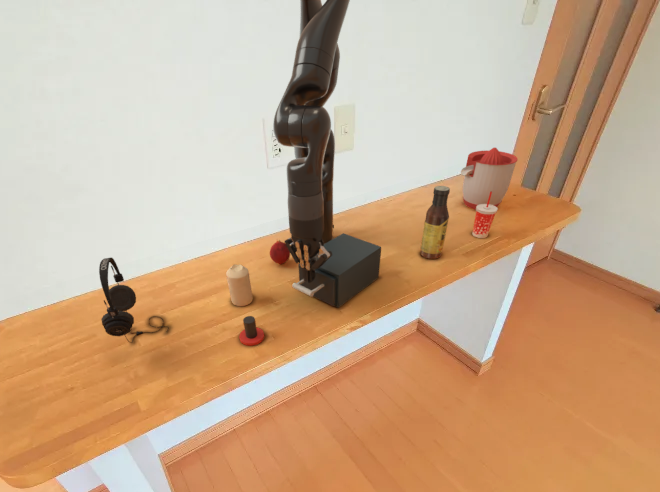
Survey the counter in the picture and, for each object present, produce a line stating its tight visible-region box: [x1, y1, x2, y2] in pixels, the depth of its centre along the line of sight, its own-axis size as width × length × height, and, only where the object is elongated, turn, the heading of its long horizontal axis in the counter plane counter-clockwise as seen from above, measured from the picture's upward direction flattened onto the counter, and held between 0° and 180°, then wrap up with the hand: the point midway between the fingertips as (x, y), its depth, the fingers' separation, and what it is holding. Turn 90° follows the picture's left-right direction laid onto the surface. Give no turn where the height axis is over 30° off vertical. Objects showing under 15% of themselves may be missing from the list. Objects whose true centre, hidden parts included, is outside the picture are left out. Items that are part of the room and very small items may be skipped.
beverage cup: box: [471, 191, 499, 239], centre depth 118 cm, size 6×6×14 cm
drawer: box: [291, 263, 337, 307], centre depth 98 cm, size 22×11×8 cm, turn 138°
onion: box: [269, 238, 291, 265], centre depth 110 cm, size 6×6×8 cm
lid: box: [239, 315, 265, 347], centre depth 86 cm, size 6×6×5 cm
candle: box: [225, 263, 254, 307], centre depth 96 cm, size 6×6×10 cm
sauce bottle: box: [420, 185, 451, 260], centre depth 107 cm, size 7×6×20 cm
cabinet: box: [317, 232, 382, 308], centre depth 100 cm, size 18×13×10 cm
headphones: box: [98, 256, 170, 344], centre depth 83 cm, size 15×11×20 cm
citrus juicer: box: [460, 147, 519, 211], centre depth 134 cm, size 16×17×20 cm
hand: (309, 280), depth 91 cm, fingers closed
